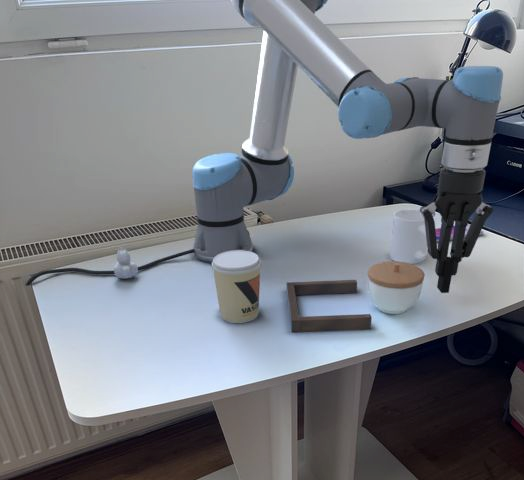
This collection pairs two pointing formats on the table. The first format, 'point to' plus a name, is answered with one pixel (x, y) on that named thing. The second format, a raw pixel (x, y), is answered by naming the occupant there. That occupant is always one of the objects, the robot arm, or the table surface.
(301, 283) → the bay
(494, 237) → the table surface
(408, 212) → the mug
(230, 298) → the coffee cup
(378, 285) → the trinket box
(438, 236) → the smartphone
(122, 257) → the grey lumpy figure
